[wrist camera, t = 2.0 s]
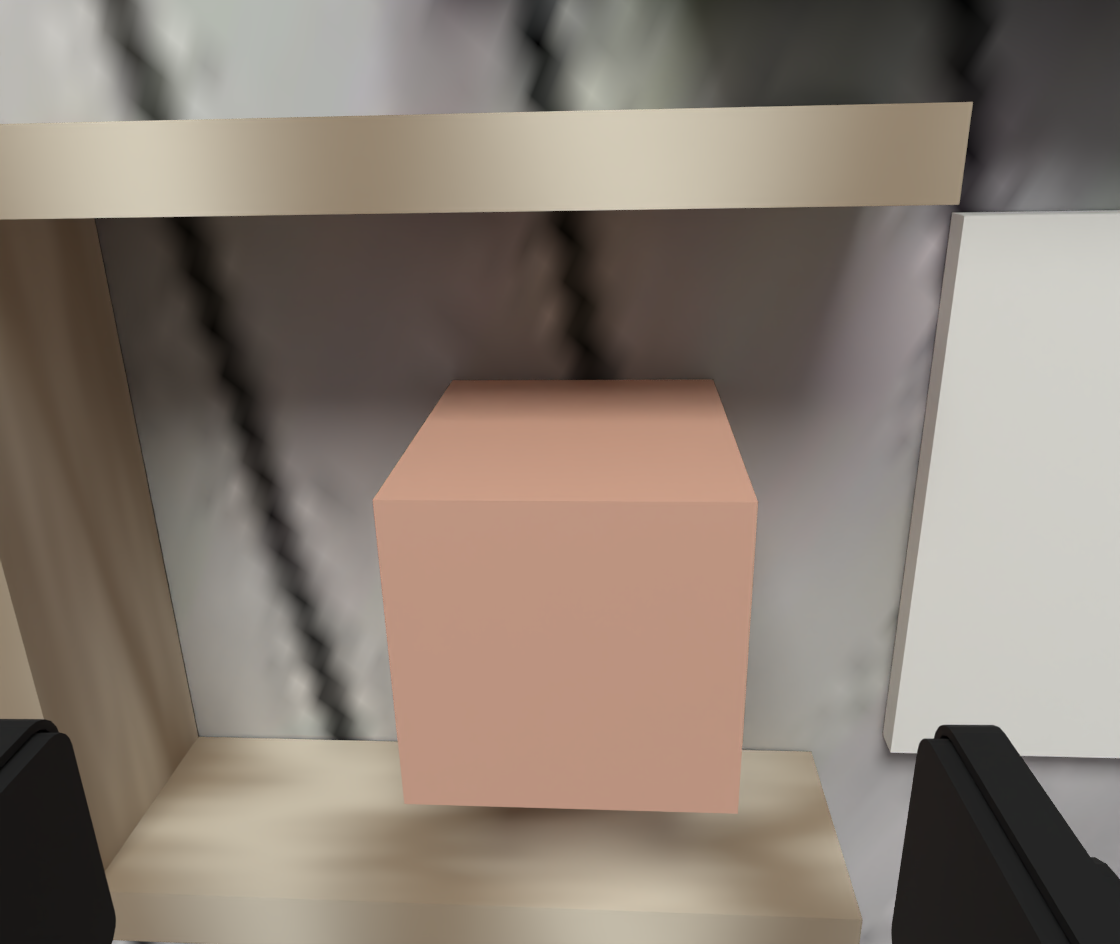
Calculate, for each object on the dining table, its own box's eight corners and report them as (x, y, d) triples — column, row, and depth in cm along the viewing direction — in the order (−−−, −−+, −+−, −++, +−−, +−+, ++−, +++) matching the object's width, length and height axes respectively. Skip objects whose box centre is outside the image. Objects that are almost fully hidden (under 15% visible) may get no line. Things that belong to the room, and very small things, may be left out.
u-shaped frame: (874, 109, 15) (972, 101, 11) (806, 795, 20) (855, 969, 16) (12, 129, 16) (-204, 129, 12) (157, 777, 21) (43, 937, 17)
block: (712, 378, 17) (757, 502, 11) (702, 609, 19) (737, 813, 13) (452, 379, 17) (372, 499, 12) (468, 605, 19) (404, 803, 13)
